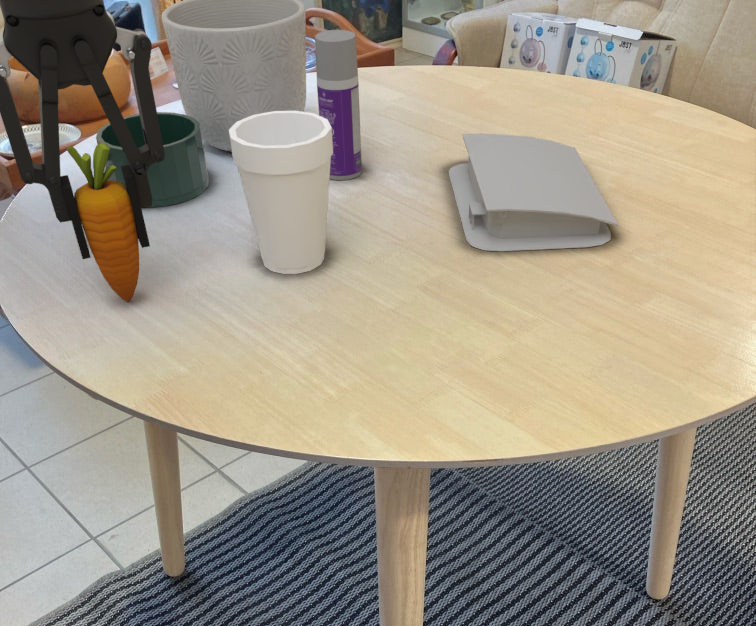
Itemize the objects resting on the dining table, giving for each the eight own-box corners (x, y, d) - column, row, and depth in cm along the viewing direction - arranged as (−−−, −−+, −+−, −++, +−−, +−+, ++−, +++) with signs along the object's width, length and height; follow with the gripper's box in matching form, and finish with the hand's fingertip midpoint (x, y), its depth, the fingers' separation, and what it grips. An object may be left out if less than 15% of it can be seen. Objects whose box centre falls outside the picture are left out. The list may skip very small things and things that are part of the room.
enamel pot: (94, 205, 98) (79, 148, 94) (131, 165, 106) (118, 110, 102) (191, 209, 97) (180, 151, 92) (220, 168, 105) (212, 113, 101)
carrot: (92, 301, 82) (46, 143, 72) (136, 282, 85) (98, 127, 74) (119, 320, 80) (77, 159, 69) (164, 300, 82) (129, 141, 72)
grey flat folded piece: (469, 252, 88) (471, 216, 85) (446, 163, 104) (447, 131, 102) (618, 245, 88) (625, 209, 85) (571, 158, 105) (575, 125, 102)
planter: (163, 135, 113) (138, 6, 103) (276, 108, 120) (263, -16, 109) (219, 177, 103) (197, 38, 92) (339, 145, 109) (331, 11, 99)
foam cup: (241, 282, 84) (221, 149, 75) (252, 239, 91) (235, 112, 82) (337, 280, 84) (329, 146, 75) (341, 237, 91) (333, 109, 82)
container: (318, 178, 102) (308, 40, 92) (329, 163, 105) (320, 28, 95) (356, 181, 101) (350, 42, 91) (366, 166, 104) (361, 30, 94)
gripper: (-92, -28, 58) (17, 284, 74) (168, -55, 62) (218, 245, 78) (-90, -49, 63) (11, 247, 79) (150, -73, 67) (200, 212, 83)
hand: (114, 245), depth 78 cm, fingers closed on carrot, 5 cm apart
